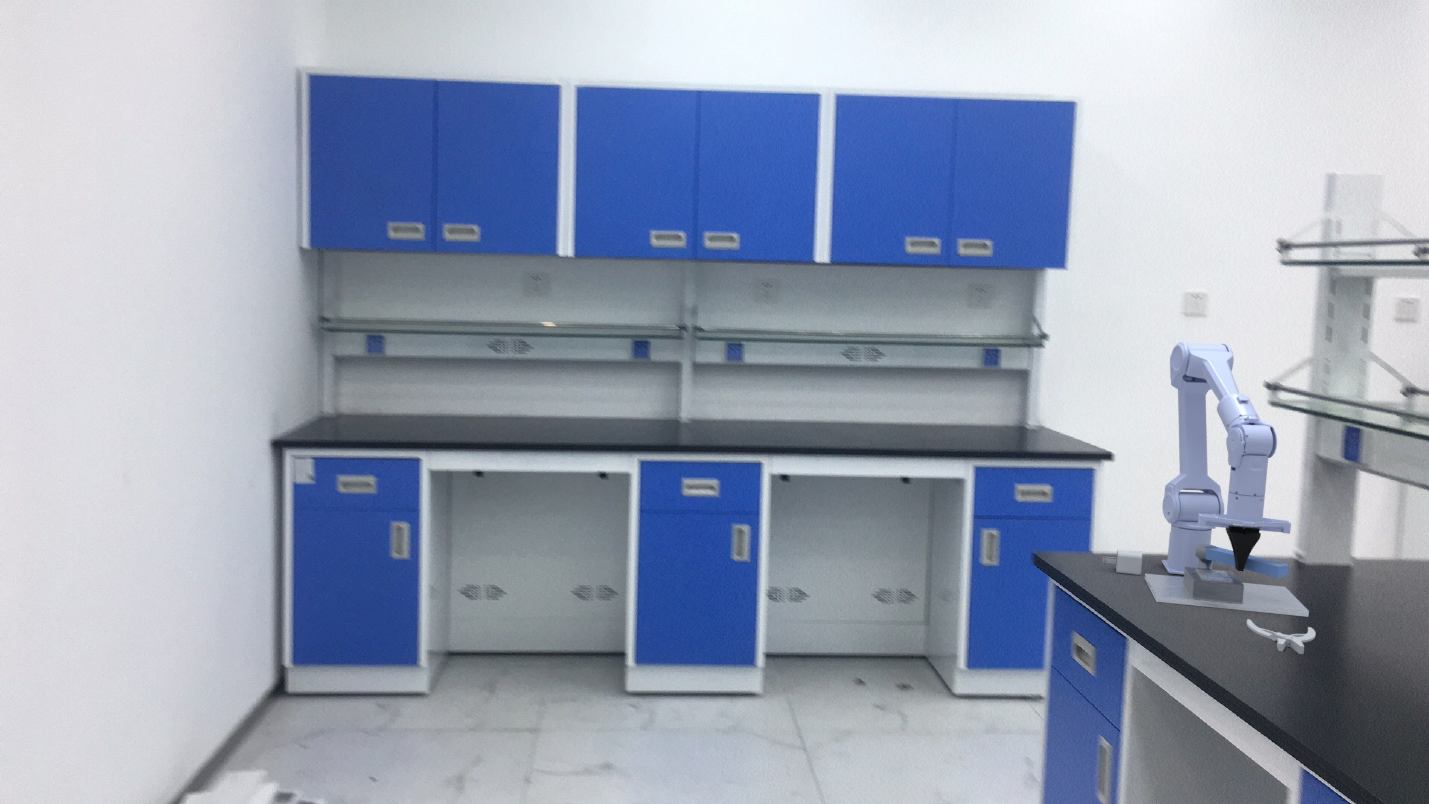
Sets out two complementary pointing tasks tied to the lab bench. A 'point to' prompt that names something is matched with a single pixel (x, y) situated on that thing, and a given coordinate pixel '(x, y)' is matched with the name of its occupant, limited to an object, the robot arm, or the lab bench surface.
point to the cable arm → (1251, 564)
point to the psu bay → (1249, 597)
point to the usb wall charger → (1126, 561)
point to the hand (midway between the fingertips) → (1239, 569)
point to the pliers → (1285, 637)
